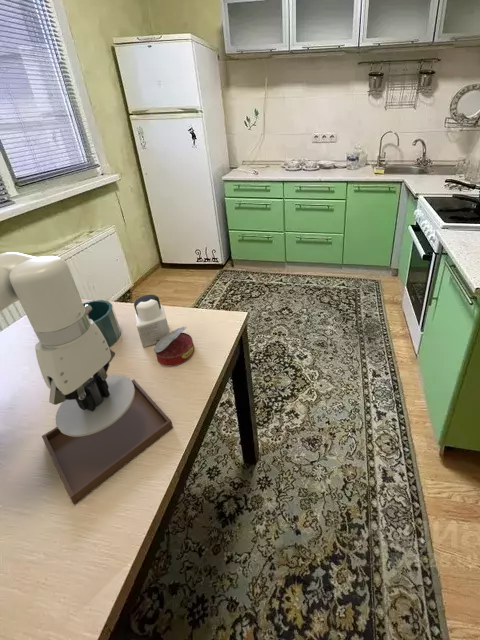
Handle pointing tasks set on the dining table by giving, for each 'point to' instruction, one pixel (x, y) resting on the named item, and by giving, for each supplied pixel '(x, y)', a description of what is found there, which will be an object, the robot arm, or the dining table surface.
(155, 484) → the dining table surface
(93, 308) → the canister
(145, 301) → the container
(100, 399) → the lid
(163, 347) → the canned food
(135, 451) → the tray
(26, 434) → the dining table surface
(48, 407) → the dining table surface
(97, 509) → the dining table surface
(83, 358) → the robot arm
